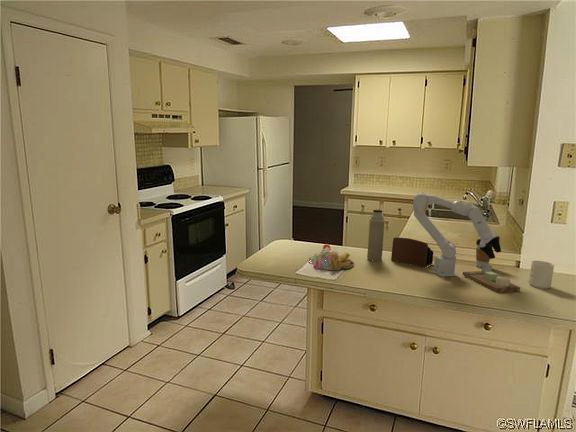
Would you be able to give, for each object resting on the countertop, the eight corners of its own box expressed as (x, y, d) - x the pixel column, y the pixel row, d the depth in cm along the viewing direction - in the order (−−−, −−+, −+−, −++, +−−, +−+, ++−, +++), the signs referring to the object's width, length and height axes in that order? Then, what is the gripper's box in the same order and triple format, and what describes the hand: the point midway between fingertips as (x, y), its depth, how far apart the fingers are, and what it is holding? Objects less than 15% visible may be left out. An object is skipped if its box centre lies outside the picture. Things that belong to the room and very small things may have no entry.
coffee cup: (492, 269, 211) (496, 242, 208) (475, 268, 212) (478, 240, 210) (488, 265, 219) (491, 238, 216) (471, 264, 221) (474, 237, 218)
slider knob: (486, 273, 195) (487, 266, 194) (481, 271, 198) (482, 263, 197) (491, 273, 195) (492, 265, 194) (486, 271, 199) (487, 263, 198)
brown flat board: (496, 292, 176) (497, 288, 175) (462, 275, 199) (463, 271, 198) (519, 291, 178) (520, 286, 178) (483, 274, 201) (484, 270, 201)
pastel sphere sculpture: (362, 265, 212) (363, 248, 210) (336, 274, 195) (337, 256, 193) (324, 255, 228) (324, 240, 227) (297, 263, 211) (298, 246, 209)
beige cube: (501, 287, 178) (502, 280, 178) (495, 284, 182) (496, 277, 181) (509, 287, 179) (510, 279, 178) (502, 284, 183) (503, 276, 182)
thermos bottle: (379, 257, 227) (383, 209, 222) (383, 261, 219) (386, 211, 214) (365, 257, 227) (369, 208, 222) (368, 261, 219) (372, 210, 214)
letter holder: (425, 268, 210) (427, 242, 207) (390, 260, 223) (392, 235, 220) (432, 264, 217) (435, 239, 215) (398, 257, 230) (400, 233, 228)
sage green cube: (489, 281, 186) (490, 274, 185) (483, 279, 190) (484, 271, 189) (496, 281, 187) (497, 274, 186) (490, 278, 191) (491, 271, 190)
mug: (554, 290, 182) (558, 266, 180) (534, 288, 183) (537, 265, 181) (540, 281, 194) (543, 259, 192) (521, 280, 194) (524, 258, 193)
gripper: (484, 232, 184) (498, 259, 183) (496, 222, 193) (509, 247, 192) (470, 236, 189) (484, 262, 189) (483, 226, 198) (495, 250, 198)
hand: (496, 255), depth 191 cm, fingers open, 7 cm apart
